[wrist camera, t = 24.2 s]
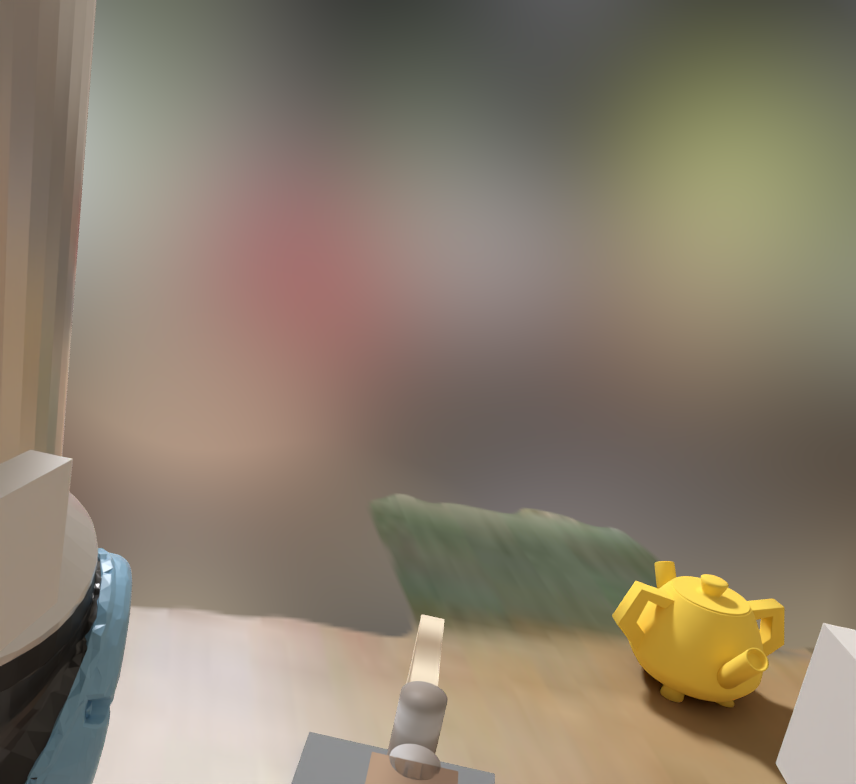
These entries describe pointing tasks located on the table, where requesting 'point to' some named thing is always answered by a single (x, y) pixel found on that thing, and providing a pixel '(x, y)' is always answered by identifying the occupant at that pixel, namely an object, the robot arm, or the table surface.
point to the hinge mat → (356, 763)
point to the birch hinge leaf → (422, 691)
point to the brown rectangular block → (408, 767)
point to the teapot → (700, 635)
